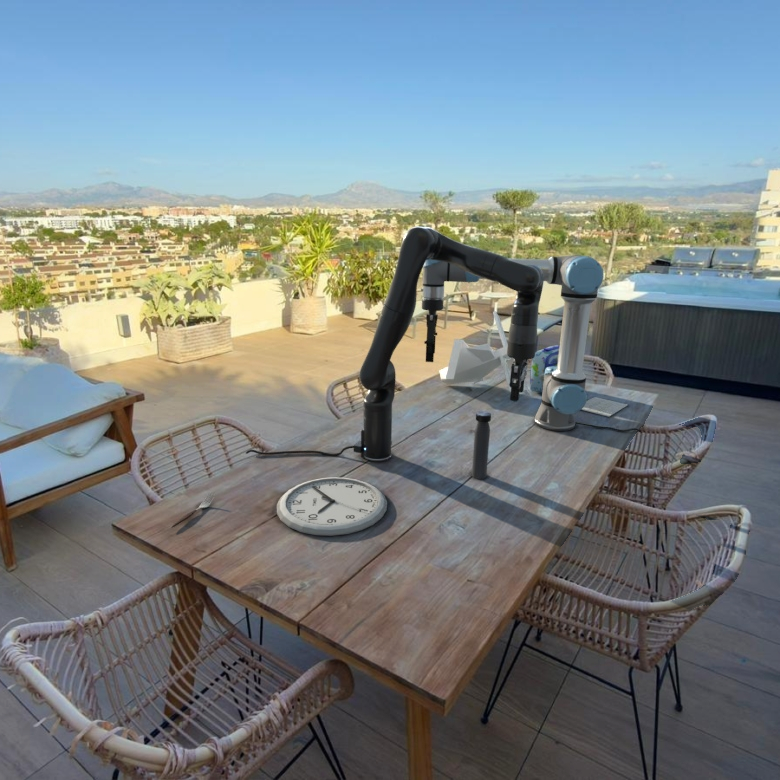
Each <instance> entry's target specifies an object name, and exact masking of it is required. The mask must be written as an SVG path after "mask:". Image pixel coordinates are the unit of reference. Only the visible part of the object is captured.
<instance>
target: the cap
mask: <svg viewBox="0 0 780 780" xmlns="http://www.w3.org/2000/svg"><path fill="white" fill-rule="evenodd" d="M475 420H476V422H478V421H479V422H488V423H490V422H491V420H492V414H491V412H490V411H486V410H479V411H476V414H475Z"/></svg>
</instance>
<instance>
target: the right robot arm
mask: <svg viewBox="0 0 780 780" xmlns="http://www.w3.org/2000/svg"><path fill="white" fill-rule="evenodd" d="M508 259H509V260H510V261H513V262H516V263H520V264H523V265H536V266H538V267H539V268H540V269H541V270H542V272H543V276H544V281H543V282H546V283H547V284H548V285H557V286H561V289H560V298H561V299H562V300H563V303H564V305H563V313H562V322H561V330H560V339H559V345H558V346H559V355H558V364H557V366H553V367H547V368H546V369H545V373H544V382H543V392H542V393H541V402H540V405H539V407H538V410H537V411H536V413H535V416H534V424H535V425H536V426H537V427H539V428H542V429H544V430H549V431H556V432H567V431H572V430H574V429H575V428H576V425H579V426H584V427H585V426H586V427H591V428H596V429H606V430H607V429H608V430H613V431H616V432H622V433H627V432H631V431H637V432H638V433H640V434H643V431H642V430H641V429H639V428H636V427H633V428H627V429H619V428H615V427H612V426H602V425H601V426H600V425H595V424H590V423H583V422H577V421H576V418H575V417H576V416H575V414H576V413H579V412H580V411H582V410H581V409H582V408H583V407H584V406H585V404H586V401H588V397H587V392H586V389H585V388H586V383H587V382H586V381H587V375H586V374H585V373H584V371H583V369H584V361H585V355H586V347H587V339H588V338H587V337H588V330H589V324H590V318H591V317H590V316H591V308H592V303H593V302H594V301H596V300H597V298H598V294H599V293H598V291H599V288H601V285H602V284H603V281H604V269H603V267H602V265H601V264H600V262H599V261H597V260H596V259H595V258H594V257H592V256H587V255H581V254H574V255H573V254H572V255H565V256H551V257H549V258H548V259H545V258H544V259H543V258H542V259H541V258H540V259H539V258H508ZM480 280H486V279H485V278H482V277H479V276H476V275H474V274H472V273H469V272H468V271H466V270H464V269H462V268H460V267H458V266H456V265H453V264H450V263H447V262H443V261H437V260H430V259H429V260H426V262H425V264H424V266H423V268H422V288H420V292H421V293H422V294H421V296H422V299H421V309H422V310H423V311H428V313H426V316H425V320H426V340H424V342H423V343H424V344H425V362H426V363H434V359H435V357H434V356H435V353H436V338H437V337H436V336H438V332H437V329H436V328H437V324H438V318H439V315H438V314H437V311H438V312H439V311H442V310H444V299H443V298H444V297H445V282H447V283H449V282H452V283H453V282H457V283H468V284H470V283H477V282H479V281H480Z"/></svg>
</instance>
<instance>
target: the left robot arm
mask: <svg viewBox="0 0 780 780" xmlns="http://www.w3.org/2000/svg"><path fill="white" fill-rule="evenodd" d="M429 259H430V260H437V261H443V262H447V263H450V264H453V265H456V266H458V267H460V268H462V269H464V270H466V271H468V272H469V273H472V274H474V275H476V276H479V277H482V278H485V279H484V280H488V281H491V282H495V283H498V284H500V285H502V286H503V287H507V288H508V289H510V290H513V291H514V292H516V294H515V300H514V302H513V304H512V308H511V315H510V325H509V329H508V338H507V344H508V347H507V355H508V356H509V357H511V358H514V359H515V361H514V360H513V363H511V367H510V375H511V376H510V384H509V385H510V387H511V392H510V395H509V396H510V397H509V400H510V401H512V402H518V401H519V398H520V394H521V393H524V391H523V389H524V380H525V381H526V379H527V375H528V367H529V363H528V360H532V358H534V357H535V353H536V348H537V338H538V319H539V309H540V308H539V307H540V301H541V297H542V292H543V288H544V282H545V281H544V276H543V272H542V270H541V269H540V268H539V267H538V266H536V265H523V264H520V263H516V262H513V261H510V260H509V259H510V258H507V257H506V256H504V255H502V254H501V255H500V254H497V253H495V252H492V251H488V250H485V249H482V248H478V247H476V246H475V247H474V246H470V245H467V244H464V243H461V242H459V241H456V240H454V239H452V238H450V237H448V236H446V235H444V234H442V233H441V232H438V230H435V229H433V228H432V227H428V226H414V227H412V228H410V229H409V230H407V231H406V233H405V234H404V236H403V238H402V240H401V245H400V250H399V254H398V257H397V263H396V267H395V271H394V275H393V277H392V280H391V282H390V286H389V288H388V291H387V294H386V298H385V300H384V303H383V306H382V309H381V311H380V315H379V319H378V322H377V325H376V328H375V331H374V335H373V338H372V342H371V344H370V347H369V350H368V352H367V354H366V356H365V358H364V361H363V362H362V364H361V367H360V369H359V380H360V384H361V385H362V387H363V388H364V389H366V390H367V392H366V395H365V397H364V398H363V428H362V429H361V430H360V440H358V441H357V442H356V443H355V444H354V445H348V446H345V447H343V448H342V449H341V450H340V451H339V452H337V453H329V452H324V451H321V450H284V451H283V450H282V451H269V452H268V451H267V452H264V451H263V452H262V451H258V450H255V449H249V450H247V451H245V454H246V455H247V454H250V453H255V454H258V455H262V456H263V455H266V456H268V455H269V456H271V455H282V454H283V455H285V454H320V455H325V456H331V457H338V456H340V455H342V454H343V453H344V452H345V451H346V450H349V449H353V453H358V454H360V457H361V458H363V459H365V460H367V461H368V462H374V463H379V462H380V463H381V462H386V461H388V460H390V459H391V458H392V445H393V441H392V432H393V430H392V428H393V427H392V425H393V402H394V400H395V394H396V368H395V365H394V363H393V362H392V360H391V358H392V356H393V355H394V352H395V350H396V348H397V347H398V345H399V344H400V342H401V341H402V339H403V338H404V336H405V335H406V333H407V331H408V330H409V327H410V325H411V322H412V319H413V316H414V313H415V310H416V306H417V295H418V294H417V293H418V292H417V291H418V283H419V279H420V275H421V273H422V272H423V266H424V264H425V262H426V260H429ZM523 379H524V380H523Z"/></svg>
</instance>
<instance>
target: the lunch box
mask: <svg viewBox="0 0 780 780" xmlns="http://www.w3.org/2000/svg"><path fill="white" fill-rule="evenodd" d="M559 346H560V345H551V346H548V347H544V348H543V349H539V350H536V351H535V357H534V358H532V359H531V363H530V374H529V391H532V392H536V393H540V394H542V392H543V382H544V373H545V369H546V368H547V367H553V366H557V364H558V355H559Z"/></svg>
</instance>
